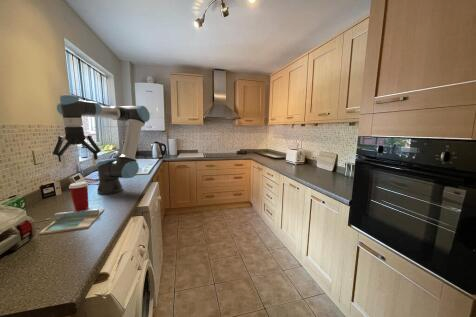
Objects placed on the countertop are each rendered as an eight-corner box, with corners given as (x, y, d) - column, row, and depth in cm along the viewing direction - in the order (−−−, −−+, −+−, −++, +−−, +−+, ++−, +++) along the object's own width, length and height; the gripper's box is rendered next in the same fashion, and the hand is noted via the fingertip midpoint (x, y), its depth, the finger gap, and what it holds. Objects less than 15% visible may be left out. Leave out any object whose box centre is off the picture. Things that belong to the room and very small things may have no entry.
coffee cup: (94, 207, 114) (91, 182, 112) (79, 213, 106) (76, 186, 104) (83, 205, 116) (80, 181, 114) (68, 211, 108) (64, 185, 106)
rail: (57, 218, 98) (56, 213, 98) (99, 214, 103) (98, 208, 103) (55, 220, 97) (54, 214, 96) (98, 215, 102) (97, 209, 101)
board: (64, 214, 104) (64, 213, 104) (103, 210, 109) (103, 209, 109) (39, 234, 85) (38, 232, 85) (88, 228, 90) (87, 226, 90)
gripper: (38, 126, 95) (46, 170, 99) (99, 126, 103) (104, 166, 107) (47, 126, 102) (54, 167, 106) (104, 125, 110) (108, 163, 114)
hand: (80, 166), depth 106 cm, fingers open, 13 cm apart
